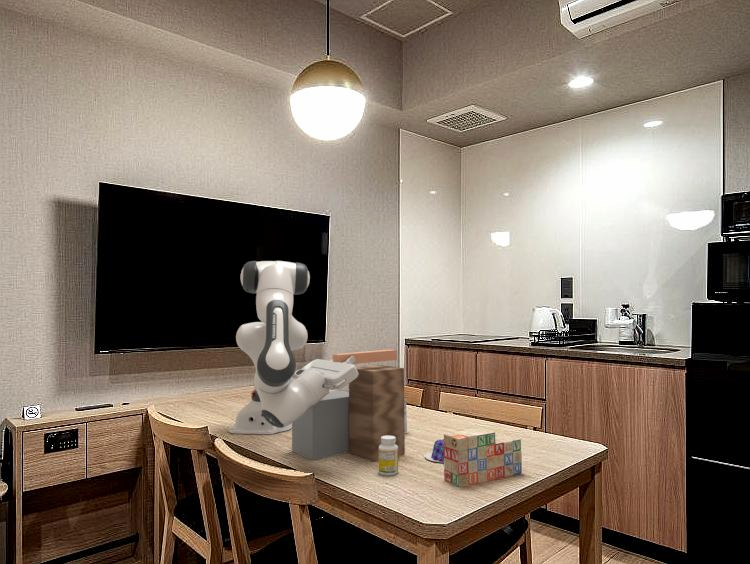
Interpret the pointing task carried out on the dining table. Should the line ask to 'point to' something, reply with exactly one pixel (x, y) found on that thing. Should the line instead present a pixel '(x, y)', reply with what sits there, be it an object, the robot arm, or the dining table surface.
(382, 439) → the supplement bottle
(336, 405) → the pedestal
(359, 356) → the rail
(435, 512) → the dining table surface
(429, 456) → the pudding
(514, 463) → the stack of blocks
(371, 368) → the stand
